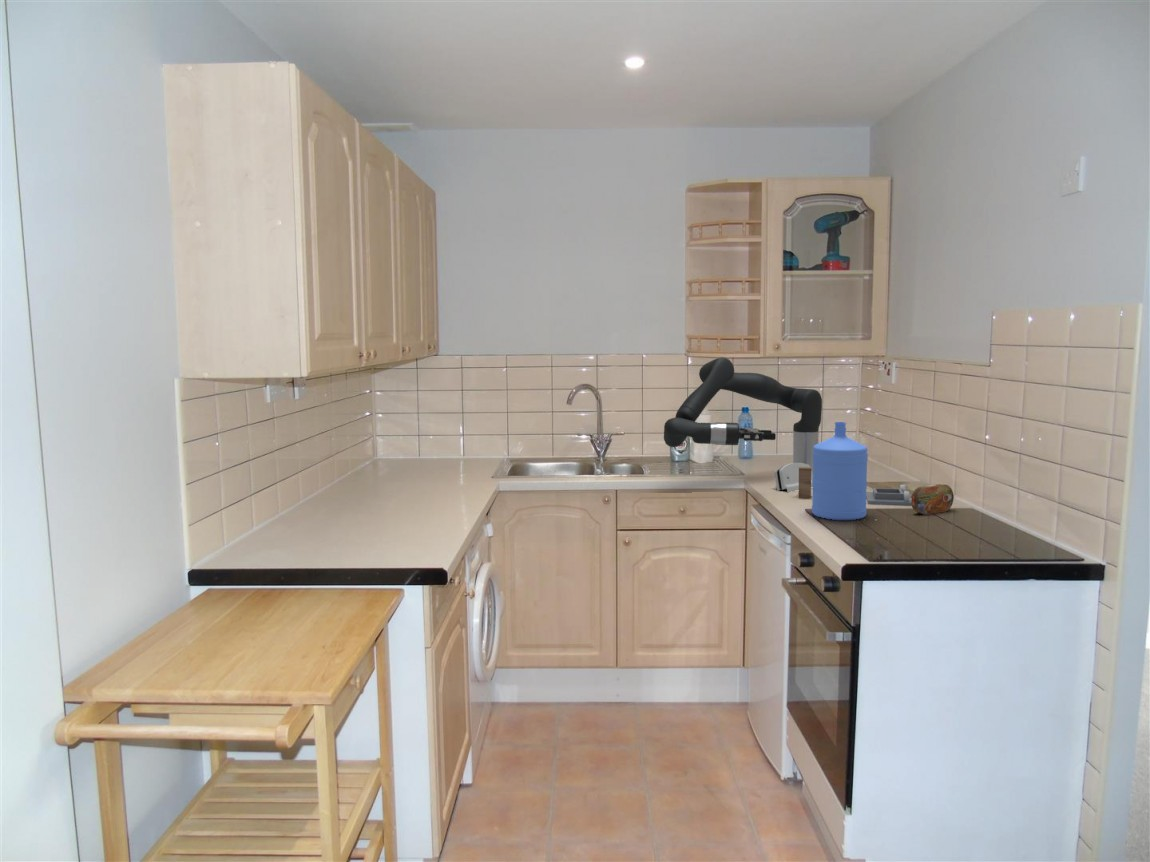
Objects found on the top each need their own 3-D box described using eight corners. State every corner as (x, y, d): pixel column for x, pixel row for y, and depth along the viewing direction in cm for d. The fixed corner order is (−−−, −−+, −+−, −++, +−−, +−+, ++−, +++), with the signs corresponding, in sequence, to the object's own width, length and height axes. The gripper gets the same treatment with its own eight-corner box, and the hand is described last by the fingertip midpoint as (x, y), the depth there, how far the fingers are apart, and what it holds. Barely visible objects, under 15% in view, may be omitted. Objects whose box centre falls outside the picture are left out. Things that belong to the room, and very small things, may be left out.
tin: (917, 516, 239) (917, 488, 238) (908, 514, 242) (909, 486, 241) (954, 510, 245) (955, 483, 244) (945, 508, 248) (946, 481, 247)
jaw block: (798, 495, 271) (798, 466, 270) (810, 496, 270) (811, 466, 269) (798, 498, 267) (798, 468, 266) (810, 498, 266) (811, 468, 265)
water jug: (854, 523, 231) (856, 427, 228) (802, 516, 241) (804, 423, 238) (874, 513, 243) (876, 421, 240) (824, 507, 253) (826, 418, 250)
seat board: (865, 494, 270) (865, 483, 270) (906, 496, 267) (907, 484, 266) (868, 504, 256) (868, 491, 256) (912, 505, 253) (912, 493, 252)
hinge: (788, 492, 277) (780, 464, 279) (778, 495, 281) (770, 467, 282) (819, 486, 286) (812, 459, 288) (809, 489, 290) (802, 462, 292)
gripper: (726, 424, 261) (777, 426, 259) (722, 420, 275) (770, 421, 274) (725, 447, 262) (776, 449, 260) (721, 442, 276) (769, 443, 274)
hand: (773, 435), depth 267 cm, fingers open, 8 cm apart
